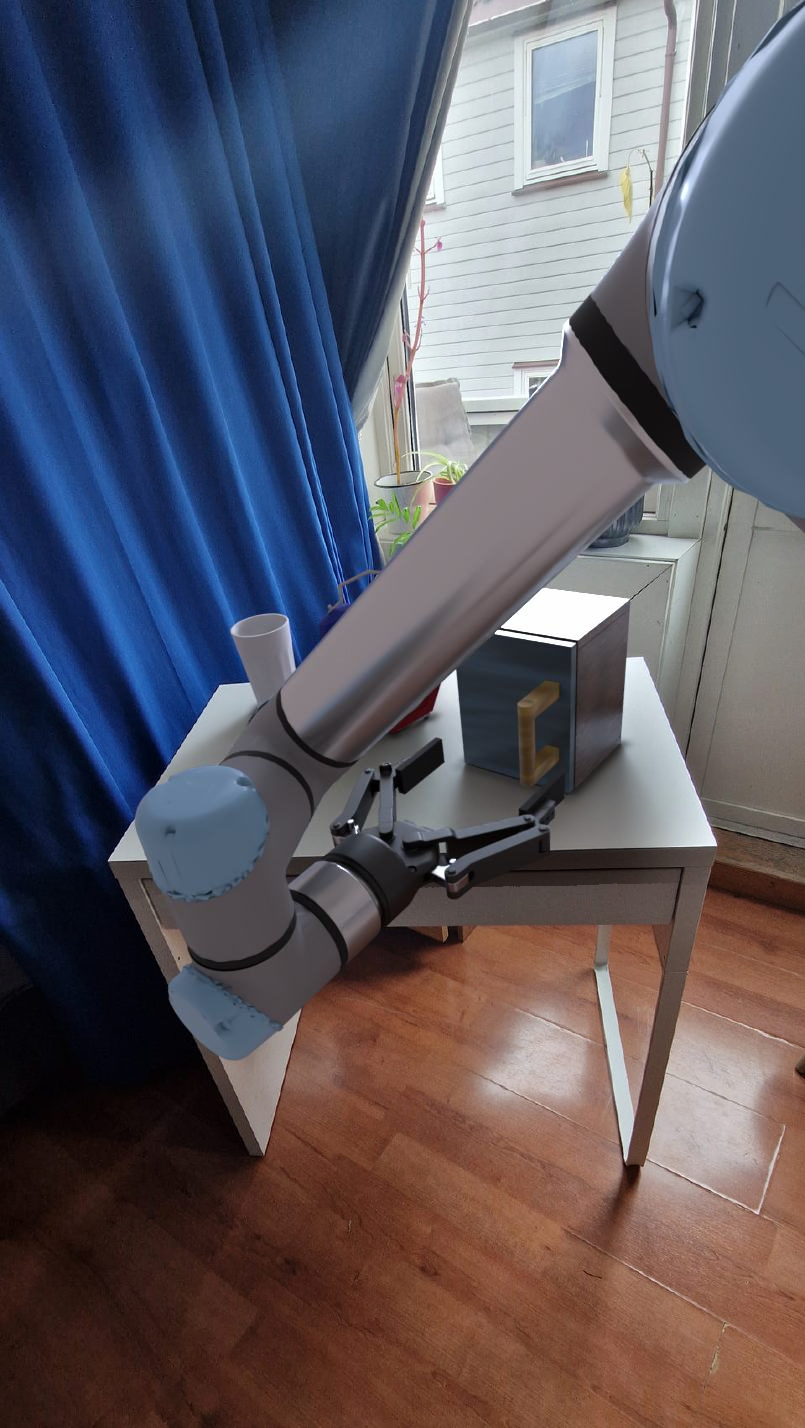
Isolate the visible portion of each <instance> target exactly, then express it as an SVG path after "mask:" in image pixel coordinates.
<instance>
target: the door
mask: <svg viewBox="0 0 805 1428" xmlns="http://www.w3.org/2000/svg"><path fill="white" fill-rule="evenodd" d="M455 673H456V685H457V694H458V705H459V717H460V728H461V739H462V749H463V759H464V763H465V764H468V765H471V766H474V767H478V768H482V769H484V770H488V771H491V772H495V773H498V774H501V775H505V776H508V777H512V778H516V779H518V780H519V783H520V785H521V786H523V787H532V786H534V785H539V786H542V785H544V784H545V783H546V782H547V781H548V780H549V779H550V778H551V777H552V776H553V775H554V774H555V773H556V772H557V771H560V772H563V773H565V794H570V793H572V792H573V791H574V789H573V788H574V740H575V692H576V643H572V642H566V641H560V640H554V639H548V638H542V637H536V636H530V635H524V634H519V633H513V632H507V631H501V630H498V631H497V632H496V633H495V634H493V635H492V636H491V637H490V638H489V639H488V640H487V641H486V642H485V643H484V644H483V645H482V646H481V647H479V648H478V649H477V650H476V651H475V652H474V653H473V654H472V655H471V656H470V657H469V658H468V659H467V660H465V661H464V662H463V663H462V664H461V665H460V666H459V667H458V668H457V669H456V670H455Z"/></svg>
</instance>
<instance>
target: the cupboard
mask: <svg viewBox="0 0 805 1428" xmlns="http://www.w3.org/2000/svg"><path fill="white" fill-rule="evenodd" d="M630 612H631V598H623V597H614V596H606V595H601V594H600V595H598V594H590V593H585V592H584V593H582V592H576V591H566V590H559V589H552V588H551V589H550V588H545V587H544V588H543V589H542V590H541V591H540V592H539V593H538V594H537V595H535V596H534V597H533V598H532V599H531V600H530V601H529V602H528V603H527V604H526V605H525V606H524V607H523V608H521V609H520V610H519V611H518V612H517V613H516V614H515V615H514V616H513V617H512V618H511V619H510V620H509V621H507V622H506V623H505V624H504V625H503V626H502V627H501V628H500V629H499V630H501V631H507V632H513V633H519V634H524V635H530V636H536V637H542V638H548V639H554V640H560V641H566V642H572V643H576V692H575V740H574V788H573V790H575V789H577V787H579V785H581V784H582V783H583V781H585V779H587V777H589V776H590V774H592V772H594V771H595V769H597V768H598V766H599V765H600V764H602V763H603V762H604V760H605V759H606V758H607V757H608V756H609V755H611V753H613V752H614V751H615V749H616V748H618V746H619V745H620V744H621V743H622V733H623V732H622V730H623V717H624V716H623V715H624V701H625V688H626V686H625V684H626V672H627V671H626V669H627V658H628V657H627V656H628V643H629V642H628V641H629V627H630Z"/></svg>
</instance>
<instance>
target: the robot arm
mask: <svg viewBox="0 0 805 1428" xmlns="http://www.w3.org/2000/svg"><path fill="white" fill-rule="evenodd" d="M706 466H708V467H709V469H710V470H711V471H712V472H714V473H715V474H716V475H717V476H718V477H719V478H720V479H721V480H722V481H724V482H725V483H726V484H727V485H729V486H730V487H731V488H732V489H734V490H736V491H738V492H741V493H743V494H746V495H749V496H751V497H753V498H755V499H757V500H758V501H759V502H760V503H761V504H763V505H764V506H765V507H766V508H768V509H771V510H773V511H776V512H779V513H782V514H784V516H785V517H786V518H787V519H789V520H790V521H791V522H792V523H793V524H794V525H795V526H796V527H797V528H798V529H799V530H800V531H801V532H802V533H804V534H805V0H798V1H797V2H796V3H795V4H794V5H793V6H792V7H790V9H788V10H787V11H785V12H784V13H783V14H782V15H781V16H780V17H779V18H778V19H777V20H776V21H775V22H774V23H773V24H772V26H771V27H770V28H769V30H768V31H767V33H766V34H765V35H764V36H763V38H762V39H761V41H759V43H758V45H757V46H756V47H755V49H753V52H752V53H751V54H750V56H749V57H748V58H747V60H746V61H745V62H744V64H743V65H742V67H741V68H740V69H739V70H737V72H736V73H735V74H734V76H733V77H732V78H731V79H730V80H729V81H727V83H726V84H725V85H724V86H723V87H722V90H721V92H720V94H719V96H718V99H717V101H716V102H715V103H714V105H713V106H712V107H711V109H709V111H708V113H707V114H706V115H705V116H704V117H703V118H702V120H701V121H700V122H699V123H698V125H697V126H696V128H695V129H694V131H693V133H692V134H691V136H690V137H689V139H688V140H687V142H686V144H685V145H684V146H683V148H682V150H681V152H680V153H679V155H678V157H677V158H676V161H675V163H674V164H673V166H672V168H671V170H670V172H669V174H668V176H667V177H666V179H665V181H664V183H663V184H662V186H661V188H660V189H659V191H658V193H657V195H656V197H654V200H653V201H652V203H651V205H650V206H649V208H648V210H647V211H646V213H645V214H644V216H643V218H642V220H641V221H640V223H639V224H638V226H637V227H636V229H635V230H634V232H633V233H632V234H631V236H630V237H629V239H628V241H627V242H626V243H625V245H624V247H623V248H622V250H621V251H620V252H619V253H618V256H617V257H616V258H615V260H614V261H613V263H612V265H611V266H610V267H609V268H608V269H607V270H606V272H605V273H604V275H602V277H601V278H600V279H599V281H598V282H597V283H596V285H595V286H594V288H593V289H592V290H591V291H590V292H589V294H588V296H587V297H586V298H585V299H584V300H583V301H582V303H580V305H579V306H578V307H577V309H576V310H575V311H574V312H573V313H572V314H571V316H570V317H569V318H568V319H567V320H566V322H565V323H564V324H563V325H562V337H561V347H560V357H559V361H558V364H557V365H556V367H555V368H554V369H553V370H552V371H551V373H550V374H549V375H548V376H547V378H546V379H544V381H543V382H542V383H541V384H540V386H538V387H537V389H536V390H535V391H534V393H533V394H532V395H530V397H529V398H528V399H527V400H526V402H525V403H524V404H523V405H522V406H521V408H519V410H518V411H517V412H516V413H515V414H514V416H513V417H511V419H510V420H509V421H508V422H507V423H506V425H504V427H503V429H502V430H501V431H500V432H499V433H498V434H497V435H496V436H495V437H494V438H493V440H492V441H491V442H490V443H489V444H488V446H487V447H485V449H484V450H483V452H482V453H481V454H480V455H479V456H478V458H476V460H475V461H474V462H473V463H472V464H471V466H470V467H469V468H468V469H467V470H466V471H465V472H464V474H463V475H462V476H461V477H460V479H458V481H456V483H455V484H454V485H453V486H452V487H451V488H450V489H449V491H448V492H447V493H446V495H445V496H444V497H443V498H442V499H441V500H440V502H438V504H437V505H436V506H435V507H434V509H433V510H431V512H430V513H429V514H428V515H427V517H426V518H425V519H424V520H423V521H422V522H421V524H420V525H419V526H418V527H417V528H416V529H415V530H414V532H413V533H412V534H411V535H410V536H409V537H408V538H407V540H406V541H405V542H404V543H403V544H402V545H401V546H400V547H399V549H398V550H397V552H395V554H393V556H392V557H391V558H390V559H389V561H388V562H387V563H386V564H385V565H384V566H383V568H381V570H379V571H380V572H379V574H378V575H377V574H376V576H375V577H374V578H373V580H371V581H370V583H369V584H368V585H367V586H366V587H365V588H364V589H363V590H362V592H361V593H360V595H359V596H358V597H357V598H356V599H355V600H354V601H353V602H352V603H351V606H350V607H349V608H348V610H347V611H346V612H345V613H344V614H343V615H342V616H341V618H340V619H339V620H338V621H337V622H336V623H335V625H334V626H333V627H332V628H331V629H330V630H329V632H328V633H327V634H326V635H325V636H324V637H323V639H320V641H319V642H318V643H317V644H316V645H315V647H314V648H312V650H311V651H310V653H308V655H306V657H304V659H303V660H302V662H301V663H300V664H299V665H298V666H297V667H296V670H295V671H294V672H293V673H292V674H291V676H290V677H289V678H288V679H287V680H286V681H285V683H284V685H283V687H282V688H281V689H279V690H278V691H277V692H276V693H274V694H273V695H272V696H271V697H270V698H269V699H268V700H266V701H265V702H264V703H263V704H262V705H261V706H260V707H257V709H256V711H255V712H254V713H253V715H252V716H251V717H250V718H249V720H248V721H247V723H246V726H245V728H244V729H243V730H242V732H241V733H240V735H239V737H238V738H237V740H236V741H235V742H234V744H233V745H232V746H231V748H230V749H229V751H228V752H227V753H226V755H225V757H224V758H223V760H222V761H220V763H218V765H204V766H198V767H197V766H196V767H192V768H188V769H186V770H182V771H180V772H177V773H174V774H173V775H171V776H169V777H168V779H167V781H166V782H164V783H161V784H158V785H156V786H152V788H151V789H149V790H148V792H147V793H146V794H145V795H144V796H143V797H142V799H141V800H140V802H139V804H138V806H137V808H136V811H135V815H134V827H135V833H136V835H137V837H138V840H139V842H140V845H141V847H142V850H143V852H144V853H143V854H144V856H145V858H146V860H145V861H146V864H147V865H148V869H149V870H148V872H149V875H150V877H151V879H152V880H153V883H154V884H155V885H156V887H157V888H158V889H159V890H160V892H161V894H162V897H163V899H164V901H165V903H166V905H167V907H168V909H169V911H170V914H171V916H172V918H173V919H174V921H175V924H176V926H177V928H178V930H179V932H180V934H181V936H182V939H183V940H184V942H185V944H186V949H187V952H188V955H189V957H190V959H191V962H190V963H189V964H188V963H186V964H185V965H183V966H182V968H181V971H179V973H178V974H177V975H176V976H174V977H173V978H172V979H171V981H170V982H169V983H168V987H167V989H168V990H167V992H168V993H167V994H168V1000H169V1003H170V1005H171V1007H172V1009H173V1010H174V1012H175V1014H176V1015H177V1017H178V1018H179V1020H180V1021H181V1023H182V1024H183V1025H184V1026H185V1027H186V1028H187V1030H188V1031H189V1032H190V1033H191V1035H193V1036H194V1037H195V1038H196V1040H198V1041H199V1042H200V1043H201V1044H202V1045H203V1046H204V1047H205V1048H206V1049H208V1050H209V1051H211V1053H213V1054H215V1055H216V1056H217V1057H219V1058H221V1059H224V1060H228V1061H234V1062H235V1061H240V1060H244V1059H246V1058H247V1057H249V1056H250V1055H251V1054H253V1052H255V1051H256V1050H257V1049H258V1048H259V1047H261V1046H262V1045H263V1044H264V1043H265V1042H267V1041H269V1039H270V1038H271V1037H273V1036H274V1035H275V1034H276V1033H277V1032H281V1031H282V1030H283V1029H284V1028H285V1027H284V1026H285V1025H286V1024H287V1023H288V1022H289V1021H290V1020H291V1019H292V1018H293V1017H294V1016H295V1015H296V1014H297V1013H298V1012H299V1011H300V1010H301V1009H303V1008H304V1006H306V1004H308V1003H309V1001H311V999H313V998H314V997H315V996H316V995H317V994H318V993H319V992H320V991H321V990H322V989H323V988H324V987H325V986H326V985H327V984H328V983H329V982H330V981H331V980H332V979H333V978H335V976H336V975H337V974H339V972H340V971H341V970H342V969H343V968H344V967H345V966H347V965H348V964H349V963H350V962H351V961H352V960H353V959H354V958H355V957H356V956H357V955H358V954H359V953H360V952H361V951H362V950H363V949H365V947H367V946H368V945H369V944H370V943H371V942H372V941H373V940H374V939H375V938H376V937H377V936H378V934H379V933H380V932H381V930H384V929H386V928H387V927H388V926H389V925H390V924H391V923H392V922H393V921H394V920H395V919H396V918H397V917H398V916H399V915H401V914H402V913H403V912H404V911H405V910H406V909H407V908H408V907H409V906H410V905H411V903H412V902H413V900H414V898H415V897H416V895H417V893H418V891H419V890H420V889H421V888H423V887H425V886H426V885H427V886H428V885H430V884H432V883H435V884H436V885H439V886H441V887H442V888H445V891H446V896H447V898H448V899H450V900H459V899H460V898H462V897H463V896H464V895H465V894H466V893H467V892H469V891H471V889H472V888H474V887H476V886H478V885H481V884H483V883H485V882H488V881H490V880H492V879H495V878H497V877H500V876H502V875H505V874H507V873H510V872H512V871H514V870H517V869H519V868H521V867H524V866H526V865H528V864H531V863H534V862H536V861H539V860H541V859H543V858H545V857H547V856H549V855H550V854H551V827H550V826H549V825H550V824H551V822H552V821H554V819H555V817H556V808H557V807H558V806H559V805H560V804H561V803H562V802H563V801H564V800H565V799H566V798H565V797H566V793H565V773H563V772H560V771H557V772H556V773H555V774H554V775H553V776H552V777H551V778H550V779H549V780H548V781H547V782H546V783H545V784H544V785H540V787H539V788H538V789H537V790H536V791H535V792H534V793H533V794H532V795H531V796H530V797H529V798H528V799H527V800H526V801H525V802H524V803H523V804H521V806H519V808H518V816H513V817H509V818H504V819H500V820H495V821H491V822H487V823H482V824H478V825H473V826H469V827H464V828H460V829H456V830H455V829H453V828H452V827H449V826H448V827H442V828H438V829H433V828H431V827H429V826H423V825H418V824H417V823H416V822H414V821H412V820H409V819H407V818H405V819H404V820H398V817H397V815H398V814H397V790H398V794H401V795H406V794H408V793H409V792H410V791H411V790H413V789H414V788H415V787H416V786H418V785H419V784H420V783H421V782H422V781H424V780H425V779H426V778H427V777H429V776H430V775H431V774H432V773H433V772H435V771H436V770H437V769H438V768H439V767H441V766H442V765H443V764H445V763H446V762H445V752H444V743H443V738H440V737H437V736H436V737H434V738H433V739H431V741H429V742H428V743H427V744H425V745H424V746H423V747H421V748H420V749H419V750H418V751H416V752H415V753H414V754H412V755H411V756H407V757H405V758H403V759H402V760H400V761H399V762H397V763H396V764H395V765H394V766H392V763H391V762H389V761H385V762H382V763H379V765H378V771H379V772H375V769H374V768H372V767H366V768H363V769H362V770H361V771H360V774H359V776H358V778H357V780H356V783H355V785H354V787H353V789H352V791H351V793H350V796H349V797H348V800H347V802H346V804H345V806H344V808H343V811H342V813H341V814H339V816H337V817H336V818H335V819H334V820H333V821H332V822H331V823H330V824H329V830H330V834H331V838H332V843H333V848H332V849H331V850H329V852H326V854H325V855H323V856H322V858H321V859H320V861H315V862H313V864H312V865H311V866H309V867H308V868H307V869H305V870H304V871H303V872H302V873H301V874H300V875H298V876H297V877H296V878H295V879H293V880H292V881H291V882H290V883H289V884H288V881H287V868H288V866H289V864H290V862H291V860H292V858H293V856H294V854H295V852H296V850H297V848H298V846H299V844H300V842H301V840H302V838H303V836H304V834H305V832H306V830H307V828H308V827H309V825H310V823H311V822H312V819H313V817H314V815H315V813H316V811H317V810H318V807H319V805H320V803H321V802H322V800H323V798H324V796H325V795H326V793H327V792H328V791H329V790H330V789H331V788H332V786H333V785H334V784H335V783H337V782H338V781H339V780H340V779H341V778H342V777H343V776H344V775H345V774H347V772H348V771H349V770H351V768H352V767H353V766H354V765H356V763H358V762H359V761H360V760H361V758H362V757H363V756H364V755H366V753H368V752H369V751H370V750H371V749H372V748H373V747H374V746H375V745H376V744H377V743H378V742H379V741H380V740H382V739H383V738H384V737H385V736H386V735H387V734H388V733H390V732H389V731H390V730H391V729H392V728H393V727H394V726H395V725H396V724H398V723H399V722H400V721H401V720H402V719H403V718H404V717H405V716H406V715H407V714H408V713H409V712H410V711H412V710H413V709H414V708H415V707H416V706H417V705H418V704H419V703H420V702H421V701H422V700H423V699H424V698H426V697H427V696H428V695H429V694H430V693H431V692H432V691H433V690H434V689H435V688H436V687H437V686H438V685H440V684H441V685H442V683H443V682H444V681H445V680H446V679H447V678H449V676H451V674H453V673H454V672H456V669H457V668H458V667H459V666H460V665H461V664H462V663H463V662H464V661H465V660H467V659H468V658H469V657H470V656H471V655H472V654H473V653H474V652H475V651H476V650H477V649H478V648H479V647H481V646H482V645H483V644H484V643H485V642H486V641H487V640H488V639H489V638H490V637H491V636H492V635H493V634H495V633H496V632H497V631H498V630H499V629H500V628H501V627H502V626H503V625H504V624H505V623H506V622H507V621H509V620H510V619H511V618H512V617H513V616H514V615H515V614H516V613H517V612H518V611H519V610H520V609H521V608H523V607H524V606H525V605H526V604H527V603H528V602H529V601H530V600H531V599H532V598H533V597H534V596H535V595H537V594H538V593H539V592H540V591H541V590H542V589H543V588H544V589H545V587H547V585H549V584H550V583H551V582H552V581H553V580H554V579H555V578H556V577H557V576H558V575H559V574H560V573H562V572H563V571H564V570H565V569H566V568H567V567H568V566H569V565H570V564H571V563H572V562H573V561H574V560H576V559H577V558H578V557H579V556H580V555H581V554H582V553H583V552H585V550H586V549H587V548H589V547H590V546H591V545H592V544H593V543H594V542H595V541H596V540H597V539H598V538H600V537H601V535H603V534H604V532H606V531H607V530H608V529H609V528H610V527H611V526H612V525H613V524H614V523H615V522H616V521H618V520H619V519H620V518H621V517H622V516H624V514H625V513H627V511H628V510H630V508H632V507H633V506H634V505H635V504H636V503H637V502H638V501H639V500H640V499H641V498H642V497H643V496H645V495H646V494H647V493H648V492H649V491H650V490H651V489H652V488H653V487H657V486H659V485H685V484H687V483H688V482H689V481H691V480H692V479H693V478H694V477H695V476H696V475H697V474H698V473H699V472H701V470H703V469H704V468H705V467H706ZM378 793H379V808H378V824H377V826H373V827H370V828H366V829H363V828H364V825H365V823H366V821H367V818H368V816H369V813H370V811H371V809H372V806H373V804H374V801H375V799H376V797H377V794H378ZM442 843H444V844H445V851H446V854H445V855H443V856H441V847H440V844H442Z"/></svg>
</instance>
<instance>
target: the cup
mask: <svg viewBox="0 0 805 1428" xmlns="http://www.w3.org/2000/svg"><path fill="white" fill-rule="evenodd" d="M229 631H230V635H231V638H232V640H233V642H234V645H235V648H236V650H237V653H238V655H239V657H240V660H241V662H242V665H243V668H244V670H245V673H246V676H247V679H248V681H249V684H250V686H251V689H252V691H253V695H254V698H255V701H256V703H257V706H258V707H257V708H259V707H260V706H261V705H262V704H263V703H264V702H265V701H266V700H268V699H269V698H270V697H271V696H272V695H273V694H274V693H276V692H277V691H278V690H279V689H281V688H282V687H283V685H284V683H285V681H286V680H287V679H288V678H289V677H290V676H291V674H292V673H293V672H294V671H295V670H296V669H297V667H296V663H295V656H294V650H293V644H292V643H293V641H292V635H291V627H290V621H289V617H287V615H285V614H281V613H263V614H257V615H253V616H250V617H246V618H244V619H242V620H240V621H238V622H236V623H235V624H233V625H232V626H231V628H230V630H229Z"/></svg>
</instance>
